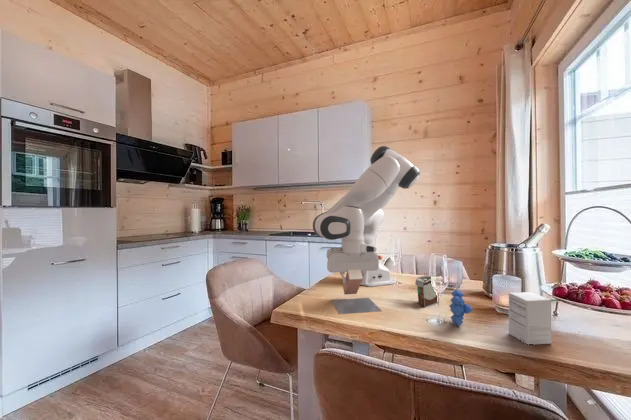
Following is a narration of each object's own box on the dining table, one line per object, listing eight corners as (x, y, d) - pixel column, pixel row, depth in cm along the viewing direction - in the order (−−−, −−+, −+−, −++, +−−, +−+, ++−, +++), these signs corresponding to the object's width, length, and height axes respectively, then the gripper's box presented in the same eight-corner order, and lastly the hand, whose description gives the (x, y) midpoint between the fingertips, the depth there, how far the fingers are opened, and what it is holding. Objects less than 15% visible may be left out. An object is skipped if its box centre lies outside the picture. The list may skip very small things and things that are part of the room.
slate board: (368, 300, 118) (368, 297, 118) (382, 313, 103) (382, 311, 103) (330, 302, 116) (330, 299, 115) (339, 316, 101) (338, 314, 101)
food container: (427, 297, 120) (427, 274, 120) (441, 301, 115) (441, 277, 115) (408, 303, 113) (408, 278, 113) (422, 308, 108) (422, 282, 108)
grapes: (471, 335, 85) (471, 296, 85) (446, 330, 89) (446, 292, 89) (473, 321, 95) (473, 286, 95) (451, 317, 99) (451, 283, 99)
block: (354, 285, 119) (360, 269, 110) (356, 293, 116) (362, 278, 107) (342, 285, 118) (347, 269, 109) (344, 294, 115) (349, 279, 107)
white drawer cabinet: (531, 332, 87) (531, 291, 87) (552, 344, 80) (552, 299, 79) (507, 333, 87) (507, 292, 87) (526, 345, 79) (527, 300, 79)
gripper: (328, 249, 107) (328, 286, 107) (380, 247, 110) (380, 283, 110) (325, 246, 113) (325, 281, 113) (374, 245, 116) (374, 279, 116)
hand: (353, 282), depth 112 cm, fingers closed on block, 5 cm apart
